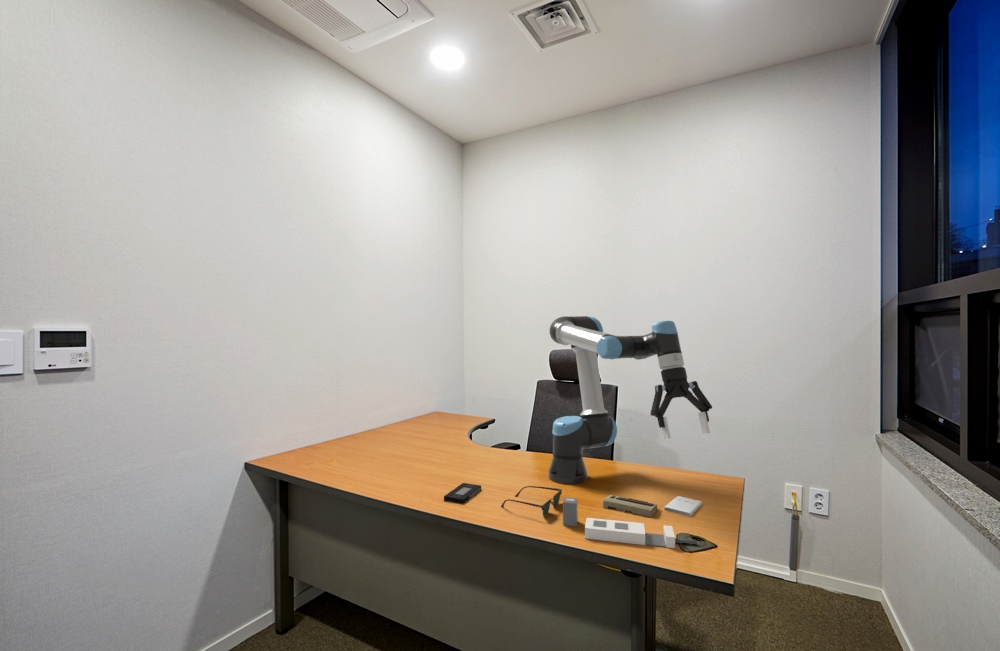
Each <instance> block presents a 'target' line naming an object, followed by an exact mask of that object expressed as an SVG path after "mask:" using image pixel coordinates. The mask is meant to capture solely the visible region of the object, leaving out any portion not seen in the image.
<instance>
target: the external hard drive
mask: <svg viewBox="0 0 1000 651" xmlns="http://www.w3.org/2000/svg"><path fill="white" fill-rule="evenodd" d="M701 506H702V501H701V500H698V499H697V500H696V499H693V498H689V497H683V496H680V495H677V496H676V497H674V498H673V499H672V500H671V501H670V502H669V503H667V504H666V505H665V506H664V508H663V509H664V511H667V512H670V513H674V514H679V515H682V516H686V517H692V516H693V514H695V512H696V511H697V510H698V509H699V508H700V507H701Z"/></svg>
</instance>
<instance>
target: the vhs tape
mask: <svg viewBox="0 0 1000 651" xmlns="http://www.w3.org/2000/svg"><path fill="white" fill-rule="evenodd" d="M481 490H482V485H481V484H472V483H466V482H462V483H461V484H459V485H458V486H456V487H455V488H454V489H453V490H450V491H449V492H448V493H447V494H445V495H444V496H443V500H444V502H450V503H456V504H461V505H463V504H466V503H467V502H468V501H469V500H470V499H471V498H472V497H474V496H475V495H476V494H478V493H479V492H480V491H481Z"/></svg>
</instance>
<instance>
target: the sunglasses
mask: <svg viewBox="0 0 1000 651" xmlns="http://www.w3.org/2000/svg"><path fill="white" fill-rule="evenodd" d="M526 488H533V489H543V490H550V491H557V493H555V494H554V495H553V497H552V498H551V499H549V500H547V501H546V502H545V503H543V504H542V505H541V504H535V503H531V502H527V501H520V500H516V499H506V500H504V501H503V503H502V504H501V506H500V507H501V508H504V506H505V503H507V501H508V502H510V501H511V502H514V503H520V504H524V505H528V506H532V507H536V508H541V510H542V517H546V516H548V515H549V512H550V506H552V507H553V508H556V507H557V506H558V505H559V501H560V498H561V496H562V492H563V489H561V488H554V487H546V486H536V485H535V486H534V485H527V486H524V487H522V488H521V489H520V490H519V491H518V492H517V494H516V495H514V497H515V498H517V497H518V498H519V495H520V494H521V492H522V491H523V490H524V489H526Z"/></svg>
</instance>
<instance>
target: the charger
mask: <svg viewBox="0 0 1000 651" xmlns="http://www.w3.org/2000/svg"><path fill="white" fill-rule="evenodd" d="M577 525H578V498H576V497H575V498H574V497H563V500H562V526H565V527H573V528H575V527H576V528H577Z"/></svg>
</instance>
